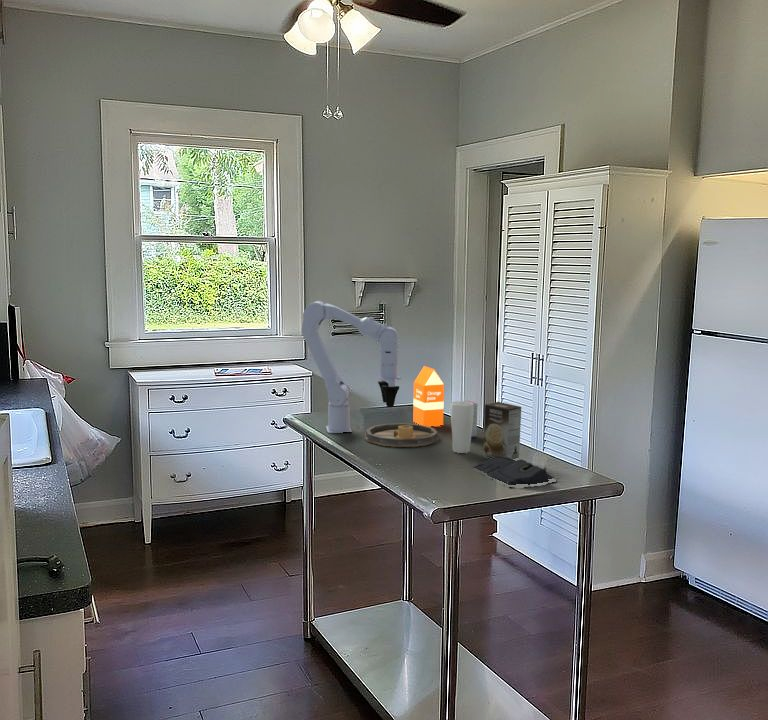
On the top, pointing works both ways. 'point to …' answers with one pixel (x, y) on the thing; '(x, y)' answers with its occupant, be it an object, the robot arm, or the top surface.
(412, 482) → the top surface
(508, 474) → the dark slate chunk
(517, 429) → the coffee box
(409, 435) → the planet gear
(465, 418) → the drinking glass
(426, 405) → the orange juice
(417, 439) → the wooden tray
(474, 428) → the supplement box
